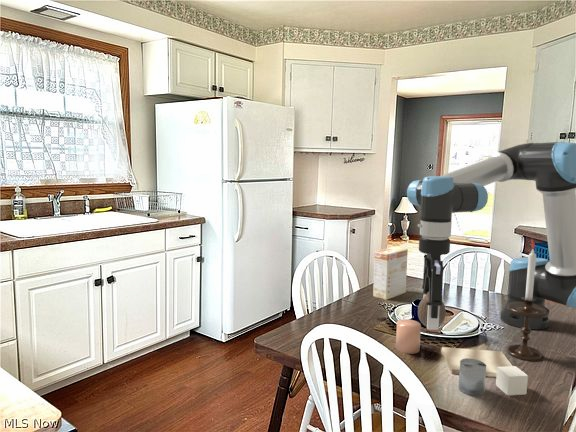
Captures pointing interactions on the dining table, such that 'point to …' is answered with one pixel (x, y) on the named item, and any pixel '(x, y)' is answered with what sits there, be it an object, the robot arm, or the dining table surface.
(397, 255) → the coffeecake box
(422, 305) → the vase
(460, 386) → the grey tin
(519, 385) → the cream block
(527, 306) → the candlestick
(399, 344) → the pink pillar candle
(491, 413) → the dining table surface
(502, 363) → the birch board
